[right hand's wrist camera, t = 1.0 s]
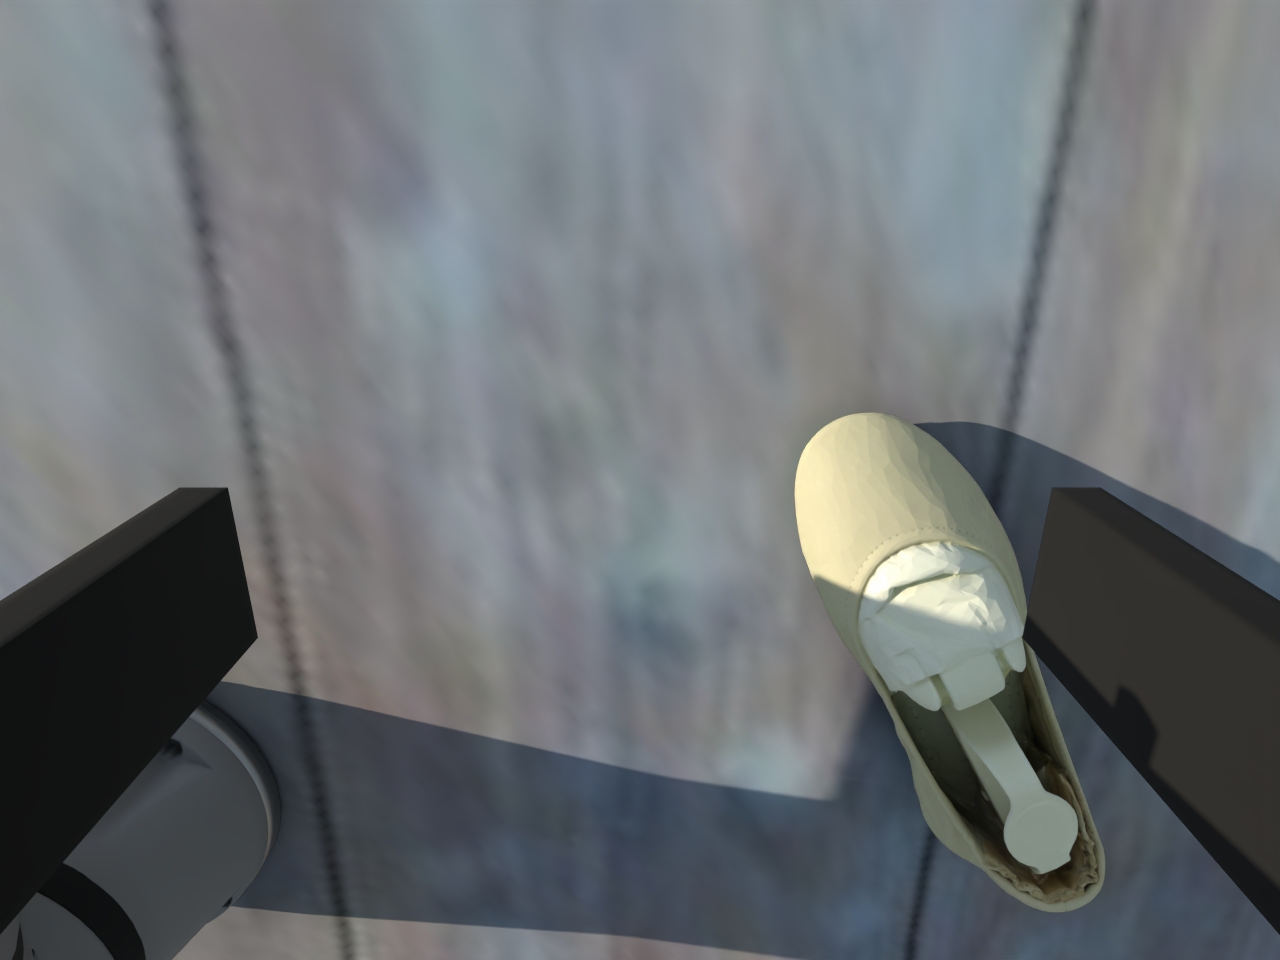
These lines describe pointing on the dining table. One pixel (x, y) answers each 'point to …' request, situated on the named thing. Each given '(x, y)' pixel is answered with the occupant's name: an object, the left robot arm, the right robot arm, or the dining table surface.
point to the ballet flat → (947, 652)
